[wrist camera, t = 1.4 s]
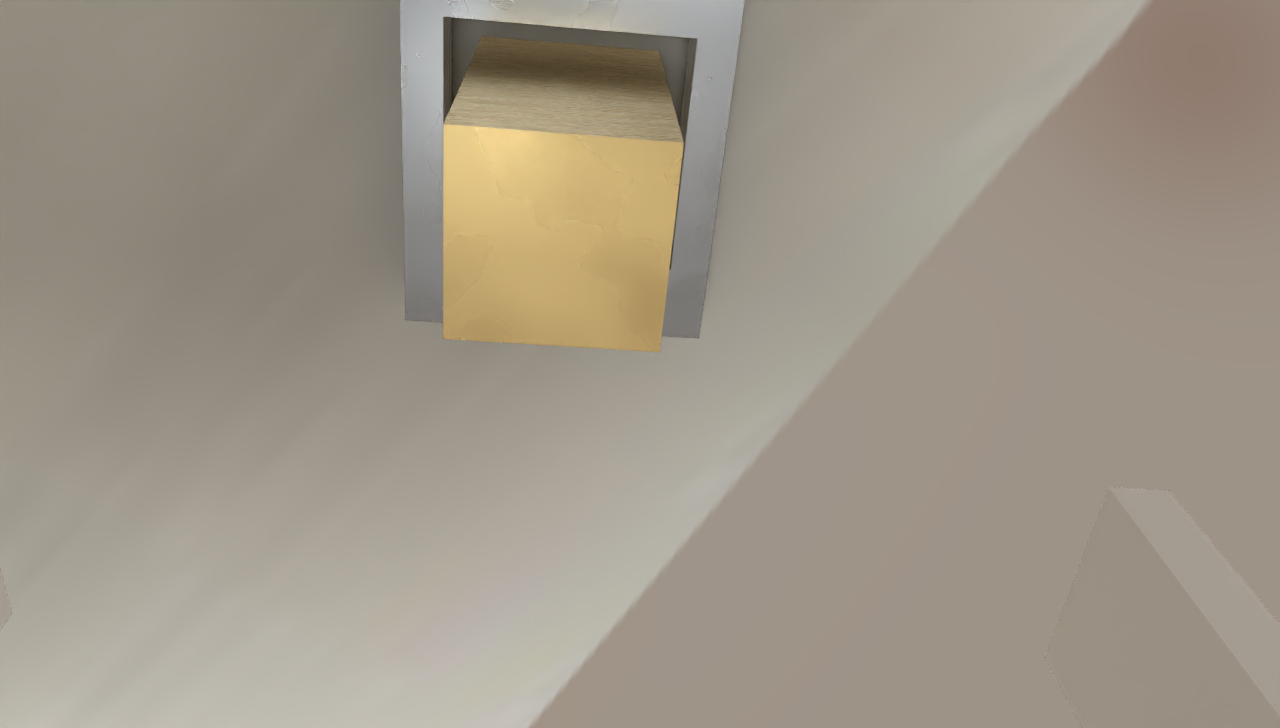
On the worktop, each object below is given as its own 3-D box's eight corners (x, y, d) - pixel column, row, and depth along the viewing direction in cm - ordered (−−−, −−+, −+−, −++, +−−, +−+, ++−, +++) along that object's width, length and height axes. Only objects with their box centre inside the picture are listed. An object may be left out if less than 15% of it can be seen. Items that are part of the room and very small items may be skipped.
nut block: (479, 204, 28) (443, 338, 21) (482, 35, 26) (443, 123, 19) (642, 216, 29) (659, 352, 22) (658, 51, 27) (683, 143, 20)
